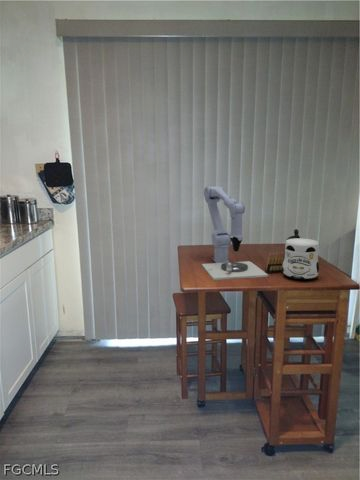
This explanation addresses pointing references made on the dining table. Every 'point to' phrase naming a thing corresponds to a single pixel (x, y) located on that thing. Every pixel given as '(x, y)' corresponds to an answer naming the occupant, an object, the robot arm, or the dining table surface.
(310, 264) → the milk container
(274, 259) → the ammunition clip
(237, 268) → the dial
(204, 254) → the dining table surface
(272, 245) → the dining table surface
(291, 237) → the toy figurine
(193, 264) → the dining table surface
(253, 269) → the dial plate
